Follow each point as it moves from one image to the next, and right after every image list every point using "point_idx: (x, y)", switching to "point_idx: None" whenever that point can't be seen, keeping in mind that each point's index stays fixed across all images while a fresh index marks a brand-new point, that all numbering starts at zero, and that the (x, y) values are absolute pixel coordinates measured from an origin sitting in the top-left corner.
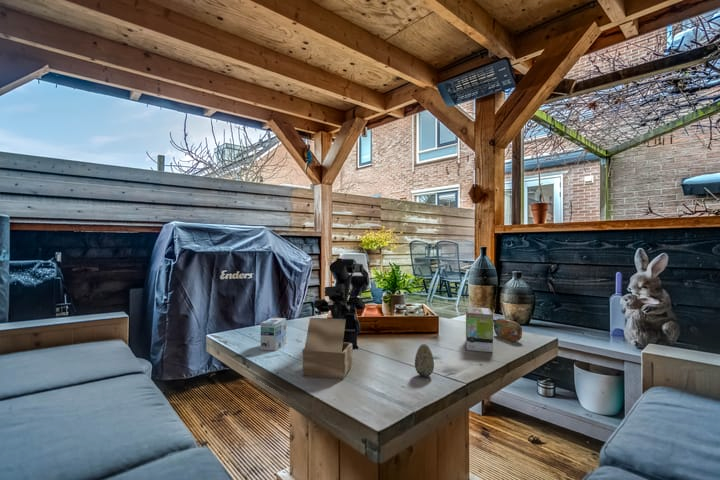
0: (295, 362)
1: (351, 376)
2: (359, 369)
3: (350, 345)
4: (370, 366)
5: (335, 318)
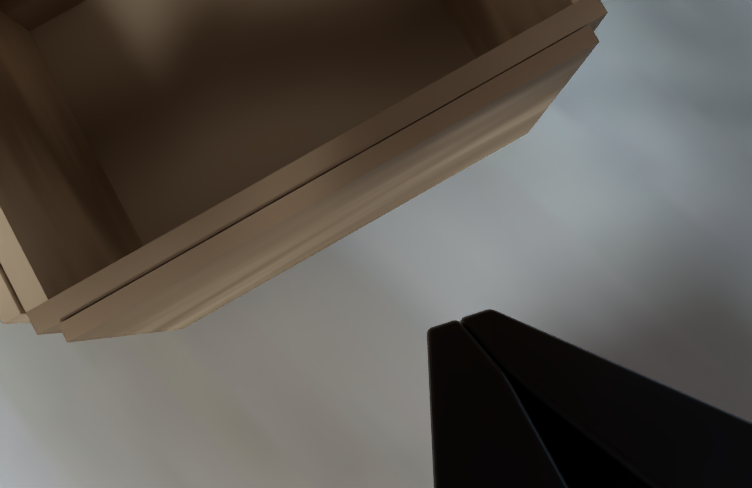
0: (735, 28)
1: None
2: None
3: None
4: (30, 475)
5: (530, 429)
